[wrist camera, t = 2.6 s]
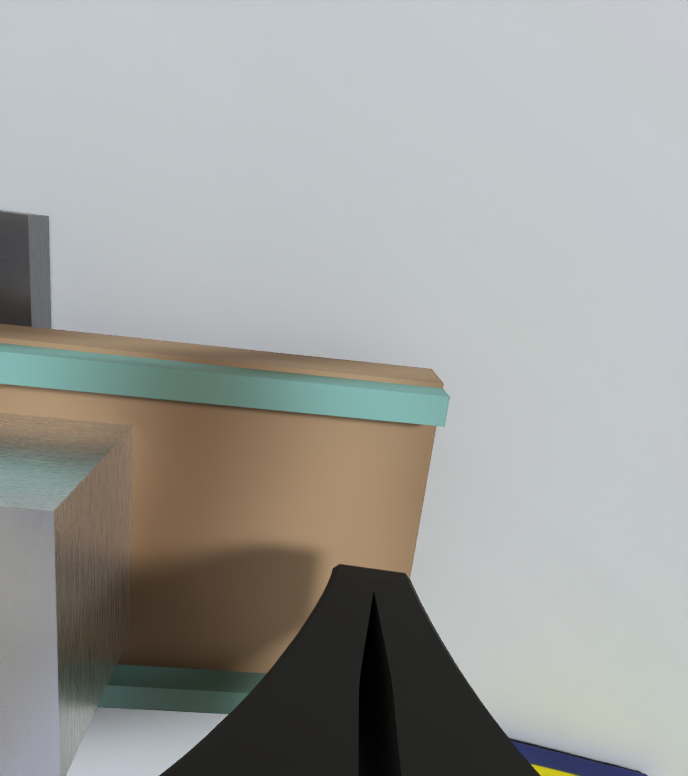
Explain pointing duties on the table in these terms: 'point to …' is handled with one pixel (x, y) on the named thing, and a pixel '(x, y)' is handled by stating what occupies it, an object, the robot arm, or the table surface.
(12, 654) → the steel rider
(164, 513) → the balance beam
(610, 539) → the table surface
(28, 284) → the beam stand
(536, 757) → the supplement box
